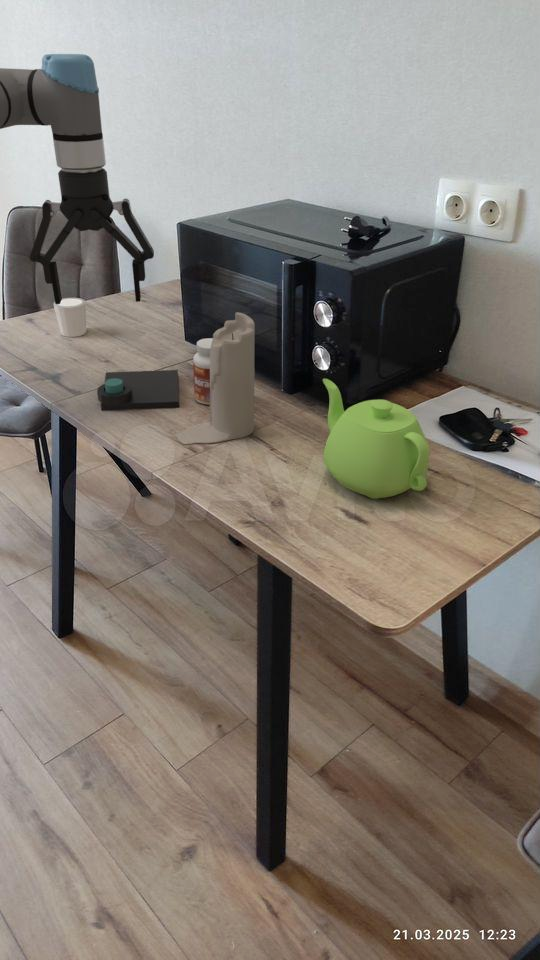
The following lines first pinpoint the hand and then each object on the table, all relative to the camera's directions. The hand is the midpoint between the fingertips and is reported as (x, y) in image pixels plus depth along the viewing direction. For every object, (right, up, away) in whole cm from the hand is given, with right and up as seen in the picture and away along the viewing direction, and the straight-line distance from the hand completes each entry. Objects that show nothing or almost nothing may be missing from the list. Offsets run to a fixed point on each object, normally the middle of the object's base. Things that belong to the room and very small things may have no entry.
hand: (98, 300), depth 122 cm
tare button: (+1, -15, +6) cm, 16 cm away
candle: (+20, -23, -1) cm, 31 cm away
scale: (+5, -15, +11) cm, 19 cm away
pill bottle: (+19, -16, +10) cm, 27 cm away
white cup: (-14, +2, +36) cm, 39 cm away
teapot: (+45, -31, -12) cm, 56 cm away
